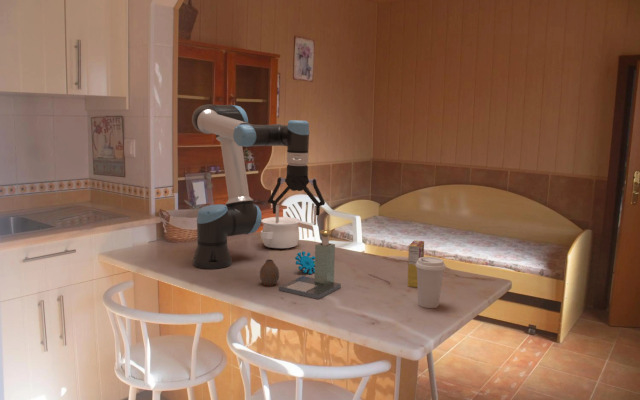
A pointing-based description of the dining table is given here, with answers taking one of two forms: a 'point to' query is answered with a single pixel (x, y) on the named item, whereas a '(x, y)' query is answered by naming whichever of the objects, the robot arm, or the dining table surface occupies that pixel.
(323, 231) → the ram pin
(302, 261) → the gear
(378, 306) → the dining table surface
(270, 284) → the vase
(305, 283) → the base
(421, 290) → the coffee cup
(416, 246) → the candy box
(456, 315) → the dining table surface
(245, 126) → the robot arm
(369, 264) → the dining table surface
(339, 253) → the dining table surface
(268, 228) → the pot
